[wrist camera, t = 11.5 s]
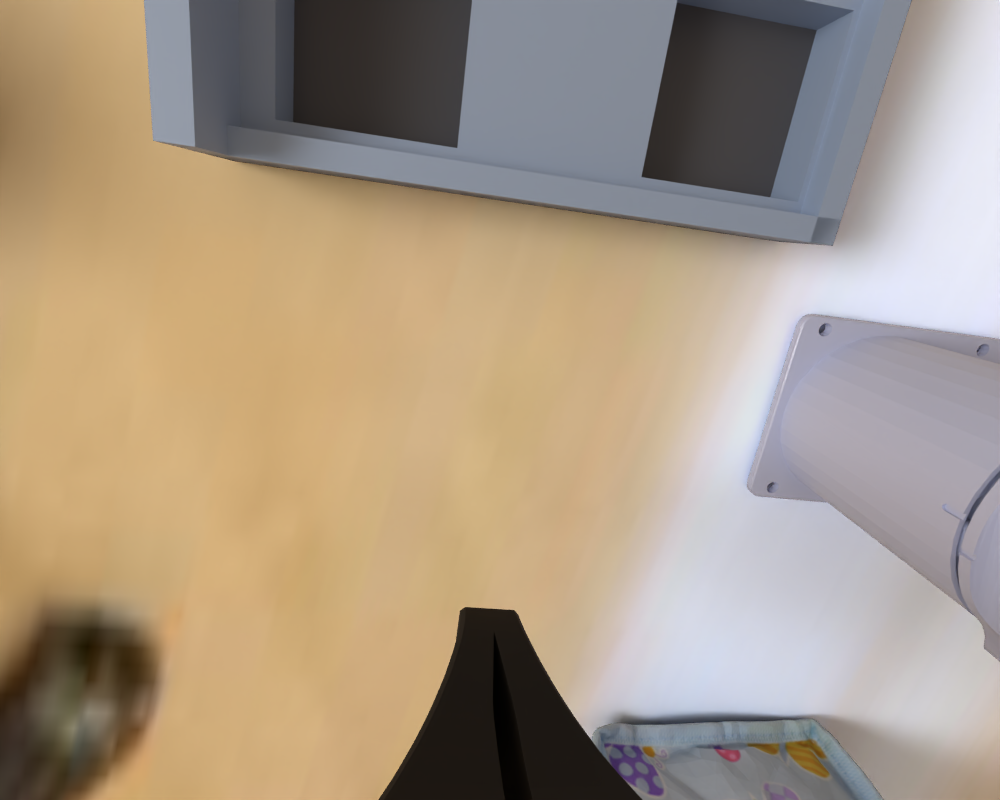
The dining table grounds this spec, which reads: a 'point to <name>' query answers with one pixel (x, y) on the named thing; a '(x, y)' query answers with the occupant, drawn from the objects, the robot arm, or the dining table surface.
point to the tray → (543, 99)
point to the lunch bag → (733, 761)
